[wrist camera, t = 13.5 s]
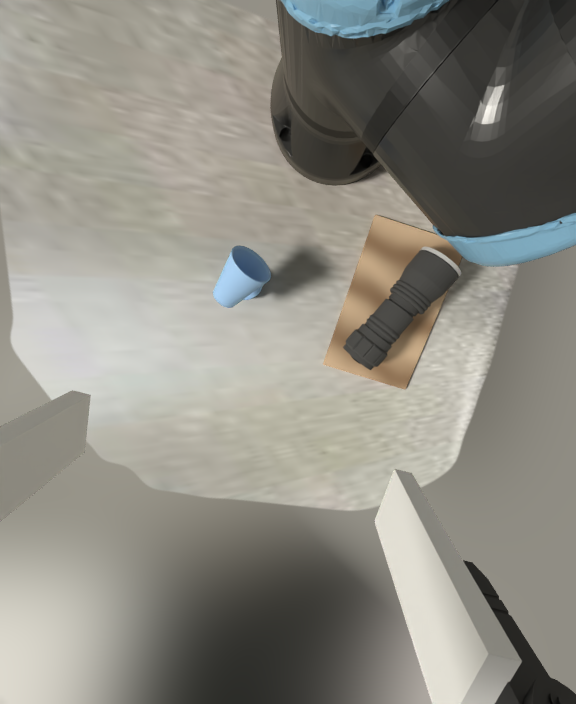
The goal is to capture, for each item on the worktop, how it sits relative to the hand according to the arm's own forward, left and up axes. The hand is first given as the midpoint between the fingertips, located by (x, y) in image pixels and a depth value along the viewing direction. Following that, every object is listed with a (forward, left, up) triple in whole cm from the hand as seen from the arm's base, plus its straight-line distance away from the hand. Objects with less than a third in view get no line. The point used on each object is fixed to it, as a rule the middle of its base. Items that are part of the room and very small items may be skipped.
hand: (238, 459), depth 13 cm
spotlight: (-5, -6, -30) cm, 31 cm away
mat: (-7, +13, -30) cm, 33 cm away
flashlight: (-7, +13, -30) cm, 33 cm away
